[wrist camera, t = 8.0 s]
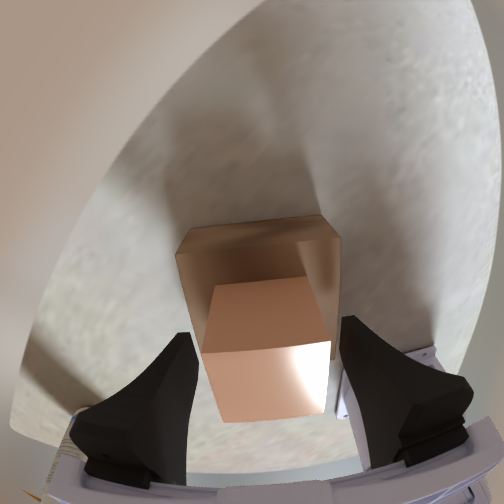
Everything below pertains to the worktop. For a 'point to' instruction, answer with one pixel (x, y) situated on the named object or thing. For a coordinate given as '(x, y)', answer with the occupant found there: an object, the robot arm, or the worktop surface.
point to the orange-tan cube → (266, 350)
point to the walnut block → (261, 263)
